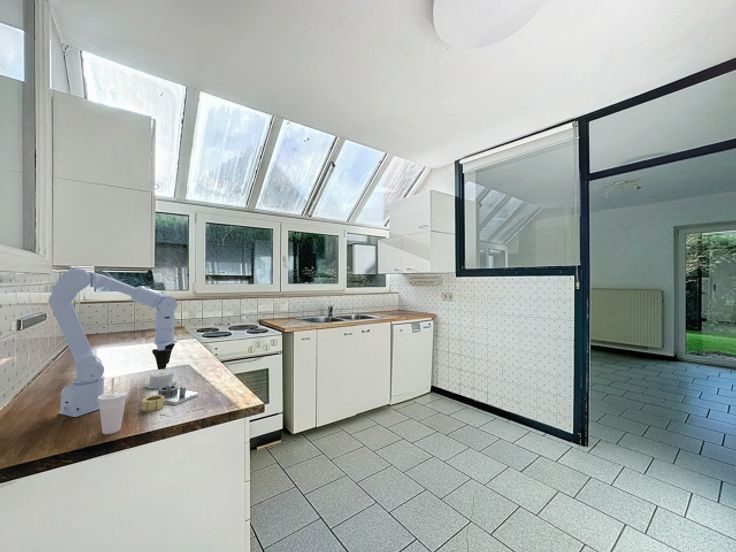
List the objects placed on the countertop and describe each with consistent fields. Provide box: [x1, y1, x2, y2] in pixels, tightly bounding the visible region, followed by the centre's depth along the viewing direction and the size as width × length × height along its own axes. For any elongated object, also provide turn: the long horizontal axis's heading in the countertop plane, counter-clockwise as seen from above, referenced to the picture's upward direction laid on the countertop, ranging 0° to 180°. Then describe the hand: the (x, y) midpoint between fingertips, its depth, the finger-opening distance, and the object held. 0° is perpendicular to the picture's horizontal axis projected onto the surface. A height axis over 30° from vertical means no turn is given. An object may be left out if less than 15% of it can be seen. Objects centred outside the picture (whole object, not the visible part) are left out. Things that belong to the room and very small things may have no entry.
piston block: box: [157, 384, 199, 406], centre depth 105 cm, size 9×12×4 cm
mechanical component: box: [145, 371, 178, 390], centre depth 118 cm, size 10×4×10 cm
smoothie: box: [97, 377, 129, 435], centre depth 82 cm, size 6×6×14 cm
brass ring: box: [141, 394, 165, 413], centre depth 97 cm, size 6×6×3 cm
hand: (163, 366), depth 110 cm, fingers open, 7 cm apart
